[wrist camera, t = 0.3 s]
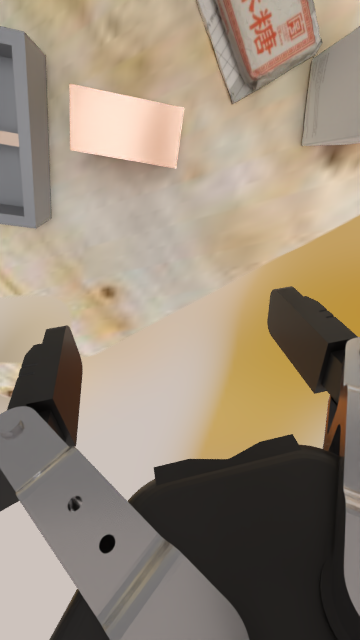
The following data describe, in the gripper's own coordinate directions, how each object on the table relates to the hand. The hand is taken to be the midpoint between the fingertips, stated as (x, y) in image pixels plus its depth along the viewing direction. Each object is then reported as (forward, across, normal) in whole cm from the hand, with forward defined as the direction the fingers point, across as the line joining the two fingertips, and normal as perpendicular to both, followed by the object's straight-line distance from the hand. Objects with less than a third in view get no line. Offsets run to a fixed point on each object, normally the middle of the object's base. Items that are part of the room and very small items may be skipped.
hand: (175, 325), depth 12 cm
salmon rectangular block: (+29, -1, -5) cm, 29 cm away
